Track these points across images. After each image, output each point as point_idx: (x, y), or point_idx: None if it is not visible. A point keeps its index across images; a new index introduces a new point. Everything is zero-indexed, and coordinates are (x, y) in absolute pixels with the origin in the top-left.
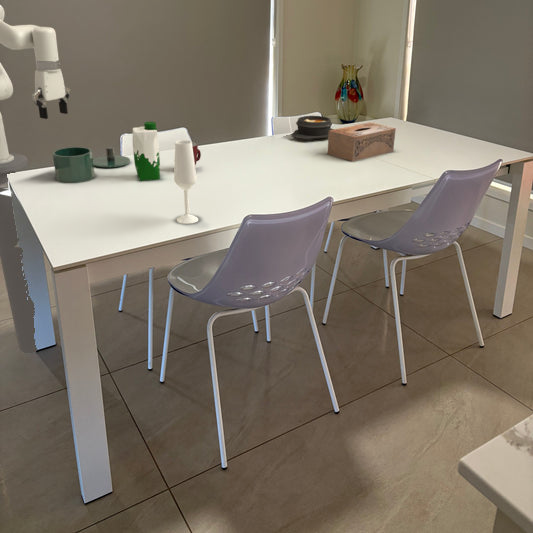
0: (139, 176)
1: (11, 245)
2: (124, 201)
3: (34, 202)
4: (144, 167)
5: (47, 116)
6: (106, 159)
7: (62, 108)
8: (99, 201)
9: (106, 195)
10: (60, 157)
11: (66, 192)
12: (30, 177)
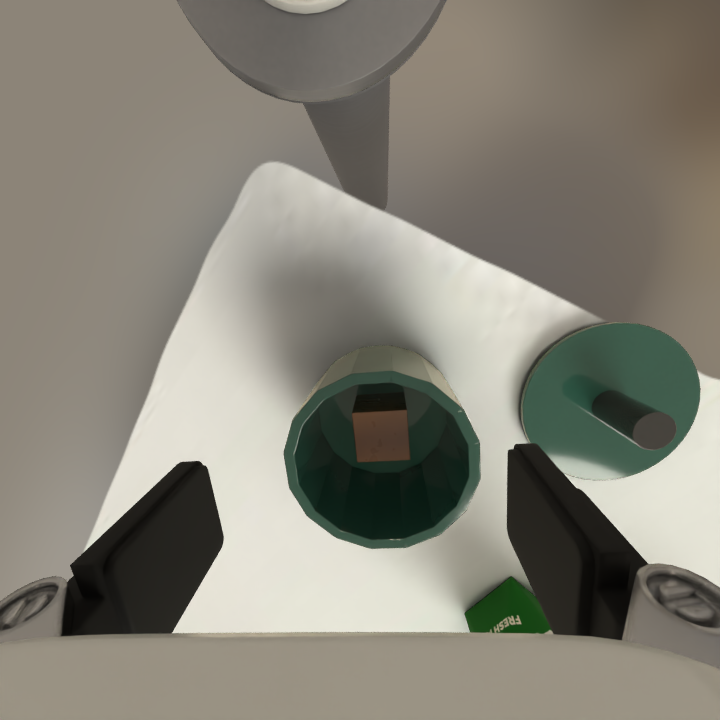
0: (469, 626)
1: (330, 155)
2: None
3: (138, 491)
4: None
5: (207, 562)
6: (616, 377)
7: (530, 535)
8: (259, 623)
9: (305, 609)
10: (288, 477)
11: (251, 503)
12: (278, 271)
